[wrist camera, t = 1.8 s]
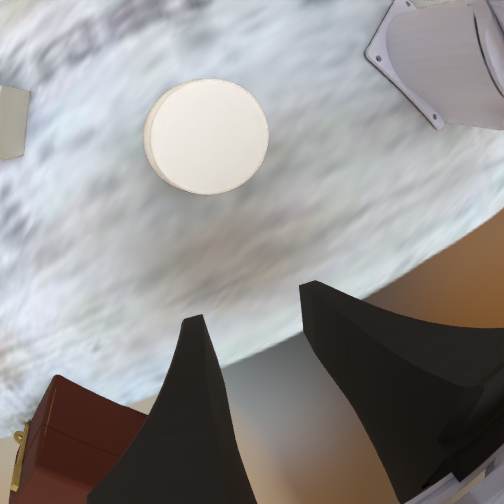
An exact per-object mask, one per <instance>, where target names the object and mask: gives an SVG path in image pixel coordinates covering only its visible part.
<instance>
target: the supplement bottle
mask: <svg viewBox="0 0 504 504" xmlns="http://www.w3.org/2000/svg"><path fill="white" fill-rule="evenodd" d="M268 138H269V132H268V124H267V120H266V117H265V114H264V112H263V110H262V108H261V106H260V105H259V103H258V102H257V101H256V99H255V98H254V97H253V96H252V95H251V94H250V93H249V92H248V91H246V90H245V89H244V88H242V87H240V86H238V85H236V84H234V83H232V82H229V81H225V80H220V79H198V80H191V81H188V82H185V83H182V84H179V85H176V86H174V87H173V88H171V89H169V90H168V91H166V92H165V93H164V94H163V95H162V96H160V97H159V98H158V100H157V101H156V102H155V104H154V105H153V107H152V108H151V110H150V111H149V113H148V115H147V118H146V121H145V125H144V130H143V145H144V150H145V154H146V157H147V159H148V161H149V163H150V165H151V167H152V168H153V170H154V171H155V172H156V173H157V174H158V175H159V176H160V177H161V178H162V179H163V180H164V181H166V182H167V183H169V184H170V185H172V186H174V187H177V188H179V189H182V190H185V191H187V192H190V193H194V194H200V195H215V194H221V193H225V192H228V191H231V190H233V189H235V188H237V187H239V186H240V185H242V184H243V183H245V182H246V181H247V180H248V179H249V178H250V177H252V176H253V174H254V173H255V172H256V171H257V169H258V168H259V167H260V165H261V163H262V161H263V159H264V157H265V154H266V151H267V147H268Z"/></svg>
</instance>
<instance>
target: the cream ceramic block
mask: <svg viewBox="0 0 504 504" xmlns="http://www.w3.org/2000/svg"><path fill="white" fill-rule="evenodd" d="M30 94H31V91H26V90H21V89H16V88H11V87H6V86H0V161H3V160H7V159H10V158H14V157H17V156H21V155H24V147H25V134H26V124H27V115H28V107H29V100H30Z"/></svg>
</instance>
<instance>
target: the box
mask: <svg viewBox="0 0 504 504" xmlns="http://www.w3.org/2000/svg"><path fill="white" fill-rule="evenodd" d="M147 416H148V415H147V414H144V413H142V412H139V411H137V410H134V409H132V408H130V407H127V406H122V405H120V404H118V403H115V402H113V401H111V400H109V399H106V398H104V397H102V396H100V395H98V394H96V393H94V392H92V391H90V390H87V389H85V388H83V387H82V386H80V385H78V384H76V383H74V382H72V381H70V380H68V379H66V378H64V377H63V376H61V375H55V376H54V377H53V379H52V381H51V383H50V385H49V386H48V388H47V390H46V392H45V394H44V396H43V398H42V400H41V402H40V404H39V406H38V408H37V410H36V412H35V414H34V416H33V418H32V421H31V423H30V425H28V424H26V426H25V429H24V432H21V431H17V432H15V434H14V439H15V441H16V442H17V443H19V444H20V447H19V449H18V451H17V455H16V461H15V465H14V471H13V477H12V483H11V490H10V497H9V504H86V498H87V495H88V494H89V493H90V492H91V491H92V490H93V489H94V488H95V487H96V486H97V484H98V483H99V482H100V481H101V480H102V479H103V478H104V477H105V476H106V475H107V474H108V473H109V472H110V470H111V469H112V468H113V467H114V465H115V464H116V463H117V462H118V460H119V459H120V458H121V456H122V455H123V453H124V452H125V451H126V449H127V448H128V447H129V445H130V444H131V443H132V441H133V440H134V438H135V437H136V435H137V433H138V432H139V430H140V428H141V427H142V425H143V423H144V422H145V420H146V418H147ZM18 436H20V437H22V439H19V438H18Z"/></svg>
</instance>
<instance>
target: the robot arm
mask: <svg viewBox="0 0 504 504" xmlns="http://www.w3.org/2000/svg"><path fill="white" fill-rule="evenodd" d="M406 4H407V5H406ZM366 57H367V58H368V60H369V61H371V62H372V63H373V64H374V65H375V66H376V67H377V68H378V69H379V70H381V71H382V72H383V73H384V74H385V75H386V76H387V77H388V78H389V79H390V80H391V81H392V82H393V83H394V84H395V85H396V86H397V87H398V88H399V89H400V90H401V91H402V92H403V93H404V94H405V95H406V96H407V97H408V98H409V99H410V100H411V101H412V102H413V103H414V104H415V105H416V106H417V107H418V108H419V110H420V111H421V112H422V113H423V114H424V115H425V116H426V117H427V118H428V120H429V121H430V122H431V123H432V124H433V125H434V127H435V128H436V129H438V130H442V129H443V128H444V125H445V123H446V122H447V123H455V124H462V125H469V126H475V127H481V128H487V129H493V130H504V0H457V1H452V2H447V3H443V4H438V5H434V6H430V7H426V8H422V9H419V10H418V9H417V8H416V7H415V6H414V5H413V4H412V3H411V2H410V1H409V0H394V2H393V4H392V6H391V8H390V9H389V11H388V13H387V15H386V16H385V18H384V20H383V22H382V23H381V25H380V27H379V29H378V31H377V32H376V34H375V36H374V38H373V39H372V41H371V43H370V45H369V47H368V48H367V50H366ZM376 57H377V58H378V61H377V60H376ZM299 291H300V301H301V310H302V320H303V331H304V333H305V335H306V337H307V339H308V341H309V343H310V345H311V347H312V349H313V351H314V353H315V354H316V355H317V357H318V359H319V360H320V361H321V363H322V364H323V365H324V367H325V368H326V370H327V371H328V373H329V374H330V375H331V377H332V378H333V380H334V381H335V382H336V384H337V385H338V386H339V388H340V389H341V390H342V392H343V393H344V395H345V396H346V398H347V399H348V400H349V402H350V404H351V405H352V406H353V408H354V410H355V412H356V414H357V415H358V417H359V419H360V421H361V423H362V424H363V426H364V428H365V430H366V432H367V434H368V435H369V438H370V440H371V441H372V443H373V445H374V447H375V449H376V451H377V453H378V456H379V458H380V460H381V462H382V464H383V466H384V468H385V470H386V473H387V475H388V477H389V479H390V482H391V484H392V486H393V489H394V491H395V494H396V496H397V499H398V501H399V502H400V504H442V503H444V502H445V501H446V500H448V499H449V498H451V497H452V496H453V495H454V494H456V493H457V492H458V491H460V490H461V489H462V488H463V487H465V486H466V485H467V484H468V483H469V482H471V481H472V480H473V479H474V478H476V477H477V476H478V475H479V474H480V473H481V472H482V471H483V470H484V469H486V471H485V478H484V479H483V480H482V481H481V482H480V483H479V484H478V485H476V486H475V487H474V488H473V489H472V490H470V491H469V492H468V493H467V494H466V495H465V496H463V497H462V498H461V499H460V500H458V501H457V502H456V503H454V504H504V328H468V327H458V326H449V325H443V324H437V323H431V322H427V321H422V320H418V319H414V318H410V317H407V316H403V315H400V314H396V313H393V312H390V311H387V310H385V309H382V308H379V307H376V306H374V305H371V304H369V303H366V302H364V301H361V300H359V299H357V298H354V297H352V296H350V295H348V294H345V293H343V292H341V291H339V290H337V289H334V288H332V287H330V286H328V285H326V284H323V283H321V282H319V281H316V280H314V281H311V282H308V283H305V284H302V285H299ZM86 504H257V501H256V499H255V496H254V494H253V491H252V488H251V485H250V482H249V480H248V477H247V474H246V472H245V468H244V465H243V462H242V460H241V457H240V453H239V450H238V447H237V443H236V440H235V434H234V429H233V424H232V419H231V415H230V409H229V404H228V398H227V393H226V388H225V383H224V380H223V376H222V373H221V369H220V366H219V363H218V359H217V356H216V353H215V351H214V348H213V345H212V342H211V339H210V336H209V333H208V330H207V327H206V324H205V321H204V318H203V315H202V314H201V315H197V316H193V317H190V318H186V319H184V320H183V322H182V325H181V330H180V335H179V339H178V342H177V346H176V349H175V352H174V356H173V359H172V362H171V365H170V368H169V370H168V373H167V375H166V378H165V380H164V383H163V386H162V388H161V390H160V392H159V395H158V397H157V399H156V401H155V403H154V405H153V407H152V409H151V411H150V413H149V415H148V416H147V418H146V420H145V422H144V423H143V425H142V427H141V428H140V430H139V432H138V433H137V435H136V437H135V438H134V440H133V441H132V443H131V444H130V445H129V447H128V448H127V449H126V451H125V452H124V453H123V455H122V456H121V458H120V459H119V460H118V462H117V463H116V464H115V465H114V467H113V468H112V469H111V470H110V472H109V473H108V474H107V475H106V476H105V477H104V478H103V479H102V480H101V481H100V482H99V483H98V484H97V486H96V487H95V488H94V489H93V490H92V491H91V492H90V493H89V494H88V495H87V498H86Z"/></svg>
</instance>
